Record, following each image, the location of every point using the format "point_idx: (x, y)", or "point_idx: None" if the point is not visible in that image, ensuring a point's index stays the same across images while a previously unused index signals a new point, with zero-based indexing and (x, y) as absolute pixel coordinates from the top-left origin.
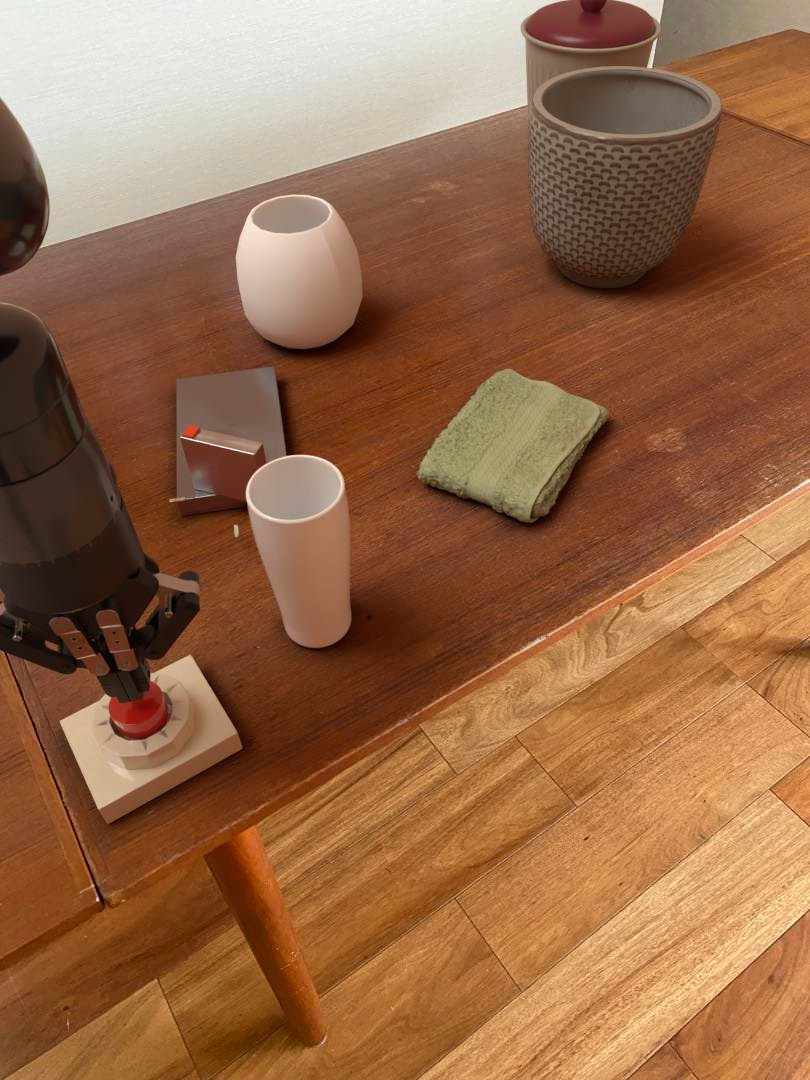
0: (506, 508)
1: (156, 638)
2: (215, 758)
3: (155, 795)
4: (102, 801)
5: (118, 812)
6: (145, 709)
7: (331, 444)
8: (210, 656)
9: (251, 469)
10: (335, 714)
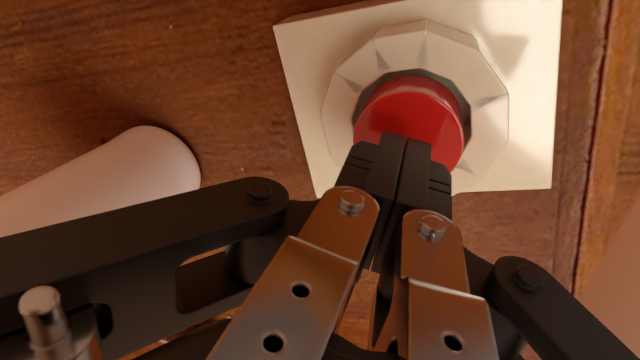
0: None
1: (197, 233)
2: (330, 9)
3: None
4: None
5: None
6: (392, 118)
7: (137, 350)
8: (305, 186)
9: None
10: (152, 14)
